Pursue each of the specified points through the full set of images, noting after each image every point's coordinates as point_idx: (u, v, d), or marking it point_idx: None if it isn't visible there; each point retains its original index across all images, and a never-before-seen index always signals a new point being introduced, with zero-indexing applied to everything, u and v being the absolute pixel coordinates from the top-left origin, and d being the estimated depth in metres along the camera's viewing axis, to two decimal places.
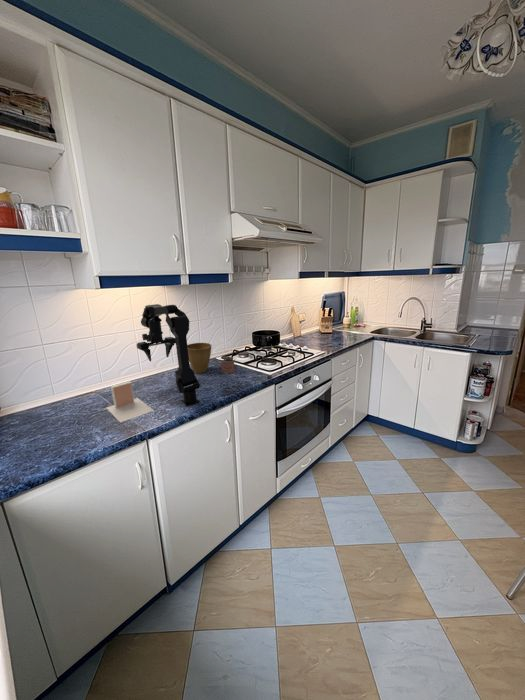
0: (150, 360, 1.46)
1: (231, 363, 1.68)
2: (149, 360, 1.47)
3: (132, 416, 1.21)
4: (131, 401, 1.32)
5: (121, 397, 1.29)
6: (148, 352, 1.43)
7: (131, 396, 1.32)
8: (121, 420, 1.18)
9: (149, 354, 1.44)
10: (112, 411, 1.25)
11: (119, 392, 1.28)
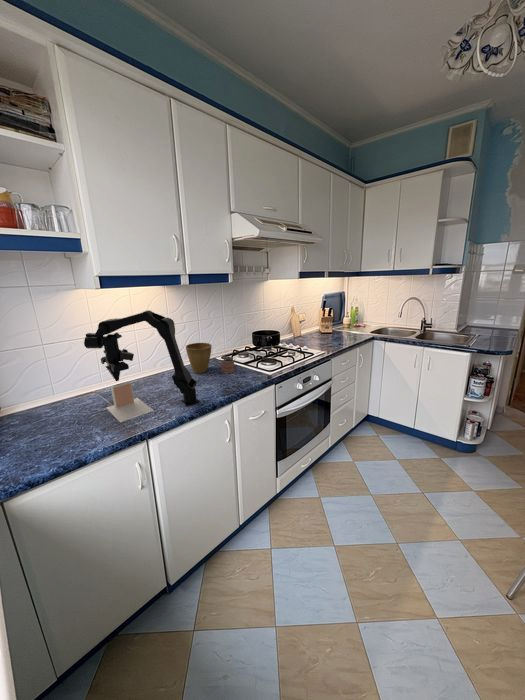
0: (115, 379, 1.32)
1: (231, 363, 1.68)
2: None
3: (132, 416, 1.21)
4: (131, 401, 1.32)
5: (121, 397, 1.29)
6: (108, 370, 1.30)
7: (131, 396, 1.32)
8: (121, 420, 1.18)
9: (110, 372, 1.31)
10: (112, 411, 1.25)
11: (119, 392, 1.28)
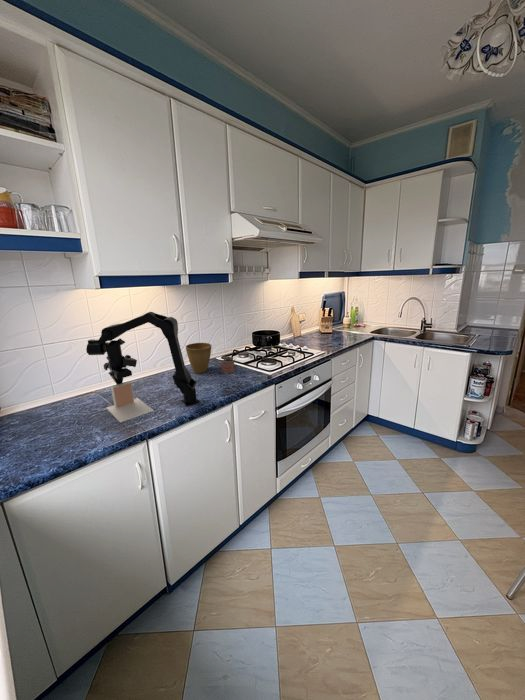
0: None
1: (231, 363, 1.68)
2: None
3: (132, 416, 1.21)
4: (131, 401, 1.32)
5: (121, 397, 1.29)
6: (111, 376, 1.29)
7: (131, 396, 1.32)
8: (121, 420, 1.18)
9: (113, 379, 1.29)
10: (112, 411, 1.25)
11: (119, 392, 1.28)
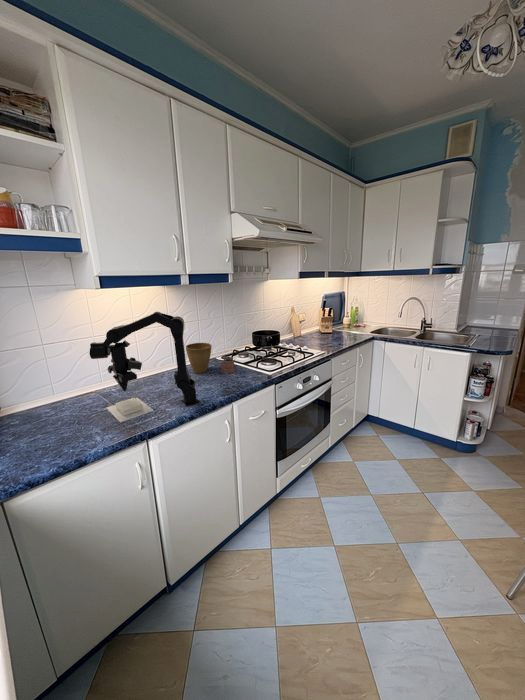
0: (122, 389, 1.27)
1: (231, 363, 1.68)
2: None
3: (132, 416, 1.21)
4: None
5: None
6: None
7: None
8: (121, 420, 1.18)
9: (117, 382, 1.25)
10: (112, 411, 1.25)
11: None
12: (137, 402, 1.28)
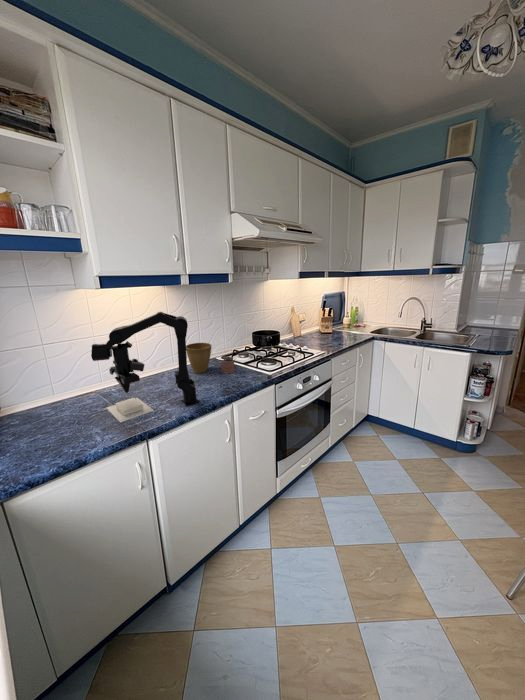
0: None
1: (231, 363, 1.68)
2: None
3: (132, 416, 1.21)
4: None
5: None
6: (117, 381, 1.23)
7: None
8: (121, 420, 1.18)
9: None
10: (112, 411, 1.25)
11: None
12: (137, 402, 1.28)
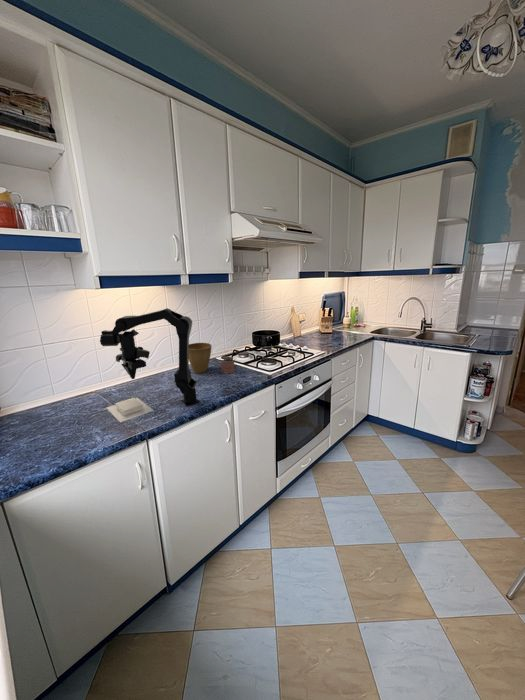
0: (131, 377, 1.30)
1: (231, 363, 1.68)
2: None
3: (132, 416, 1.21)
4: None
5: None
6: (124, 368, 1.28)
7: None
8: (121, 420, 1.18)
9: (126, 370, 1.29)
10: (112, 411, 1.25)
11: None
12: (137, 402, 1.28)
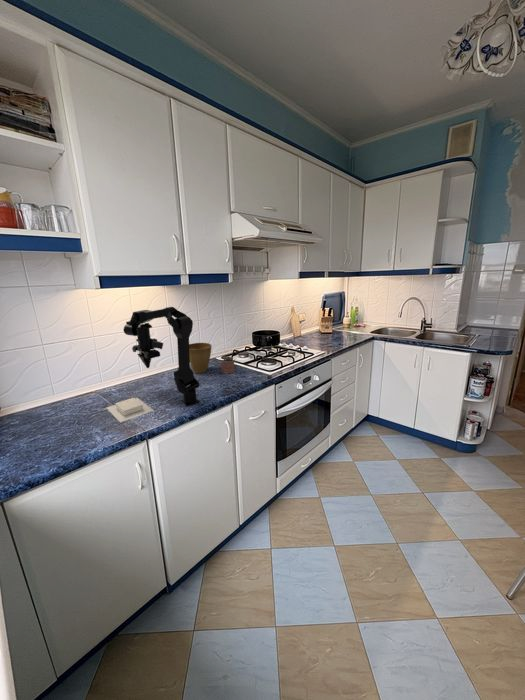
0: (146, 366, 1.42)
1: (231, 363, 1.68)
2: None
3: (132, 416, 1.21)
4: None
5: None
6: (140, 357, 1.40)
7: None
8: (121, 420, 1.18)
9: (142, 360, 1.40)
10: (112, 411, 1.25)
11: None
12: (137, 402, 1.28)
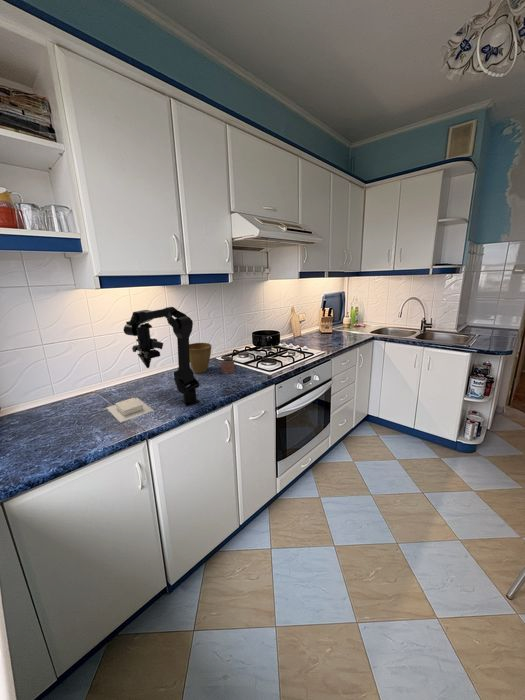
0: (146, 366, 1.42)
1: (231, 363, 1.68)
2: None
3: (132, 416, 1.21)
4: None
5: None
6: (140, 357, 1.40)
7: None
8: (121, 420, 1.18)
9: (142, 360, 1.40)
10: (112, 411, 1.25)
11: None
12: (137, 402, 1.28)
